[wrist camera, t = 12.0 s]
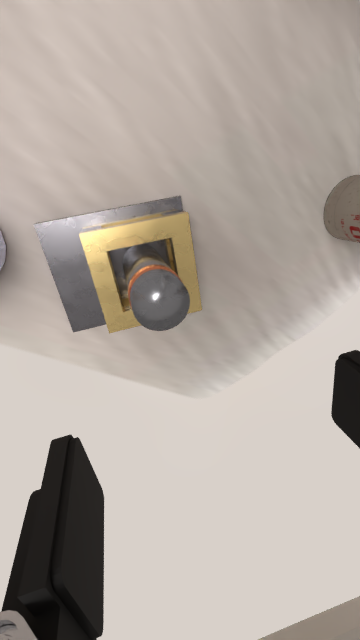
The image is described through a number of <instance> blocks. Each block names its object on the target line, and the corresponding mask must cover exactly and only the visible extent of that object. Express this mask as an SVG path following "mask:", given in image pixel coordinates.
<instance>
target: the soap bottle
mask: <svg viewBox="0 0 360 640" xmlns="http://www.w3.org/2000/svg"><path fill="white" fill-rule="evenodd" d="M5 256H6V245H5V242H4V239H3V236H2V233H1V231H0V270H1V268H2V266H3V264H4V262H5Z"/></svg>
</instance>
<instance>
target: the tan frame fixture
mask: <svg viewBox="0 0 360 640" xmlns="http://www.w3.org/2000/svg"><path fill="white" fill-rule="evenodd" d="M34 227H35V229H36V232H37V235H38V237H39V240H40V243H41V246H42V248H43V251H44V254H45V256H46V259H47V262H48V265H49V267H50V270H51V273H52V275H53V278H54V281H55V284H56V286H57V289H58V292H59V294H60V297H61V300H62V303H63V305H64V308H65V311H66V313H67V316H68V319H69V322H70V324H71V327H72V330H73V332H76V331H80V330H85V329H89V328H93V327H97V326H101V325H105V324H107V327H108V331H109V333H112V332H116V331H120V330H124V329H128V328H132V327H136V326H140V325H141V324H140V323H139V322H138V321H137V319H136V318H135V316H134V314H133V311H132V308H131V306H130V303H129V298H128V288H127V284H126V279H125V275H124V270H123V265H122V261H123V257H124V254H125V253H126V251H127V250H128V249H129V248H131V247H132V246H134V245H139V244H144V245H148V246H150V247H152V248H153V249H154V250H155V251H156V252H157V253H158V254H159V255H160V257H161V258H162V259H163V260H164V261H165V263H166V264H167V265H168V266H169V267H170V269H172V270H173V271H174V272H175V273H176V274H177V275H178V276H179V278H180V279H181V280H182V282H183V284H184V286H185V287H186V289H187V290H188V293H189V296H190V306H189V310H188V313H192V312H196V311H200V310H202V306H201V299H200V292H199V285H198V278H197V271H196V264H195V257H194V250H193V243H192V236H191V229H190V222H189V215H188V212H185V211H183V210H182V203H181V196H176V197H171V198H166V199H160V200H155V201H150V202H145V203H140V204H134V205H129V206H124V207H119V208H114V209H108V210H103V211H98V212H93V213H88V214H82V215H77V216H72V217H67V218H61V219H56V220H51V221H46V222H41V223H36V224H34ZM188 313H187V314H188Z"/></svg>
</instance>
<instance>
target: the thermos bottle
mask: <svg viewBox="0 0 360 640" xmlns="http://www.w3.org/2000/svg"><path fill="white" fill-rule="evenodd" d="M324 222H325V226H326V228H327V230H328V231H329V233H330V234H331V235H333V236H334V237H336V238H339V239H344V240H349V241H354V242H359V243H360V175H354V176H350V177H348V178H346V179H344V180H343V181H341V182H340V183H339V184H338V185H337V186H336V187H335V188H334V189H333V191H332V192H331V193H330V195H329V197H328V199H327V202H326V205H325V209H324Z"/></svg>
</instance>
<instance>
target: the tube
mask: <svg viewBox="0 0 360 640" xmlns="http://www.w3.org/2000/svg"><path fill="white" fill-rule="evenodd" d="M122 265H123V270H124V275H125V279H126V284H127V288H128V298H129V303H130V306H131V308H132V311H133V314H134V316H135V318H136V319H137V321H138V322H139V323H140V324H141V325H142V326H144V327H146V328H148V329H151V330H155V331H163V330H168V329H171V328H173V327H175V326H177V325H178V324H179V323H180V322H181V321H182V320H183V319H184V318H185V316H186V315H187V313H188V310H189V306H190V296H189V293H188V290H187V289H186V287H185V286H184V284H183V282H182V280H181V279H180V278H179V276H178V275H177V274H176V273H175V272H174V271H173V270H172V269H170V267H169V266H168V265H167V264H166V263H165V261H164V260H163V259H162V258H161V257H160V255H159V254H158V253H157V252H156V251H155V250H154V249H153V248H152V247H150V246H148V245H144V244H139V245H134V246H132V247H131V248H129V249H128V250H127V251H126V253H125V254H124V257H123V261H122Z"/></svg>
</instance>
